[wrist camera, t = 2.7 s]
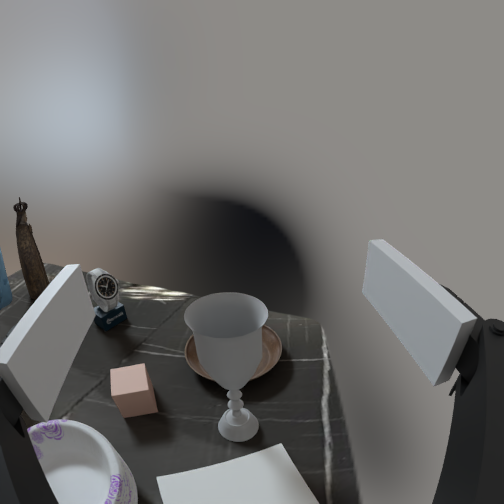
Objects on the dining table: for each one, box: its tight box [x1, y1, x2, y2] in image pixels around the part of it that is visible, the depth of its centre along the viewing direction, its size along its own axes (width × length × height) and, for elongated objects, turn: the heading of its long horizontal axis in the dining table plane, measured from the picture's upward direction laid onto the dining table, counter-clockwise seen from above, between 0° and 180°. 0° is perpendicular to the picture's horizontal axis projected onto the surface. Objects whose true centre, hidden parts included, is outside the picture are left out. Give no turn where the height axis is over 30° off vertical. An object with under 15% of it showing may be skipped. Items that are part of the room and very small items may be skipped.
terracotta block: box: [111, 364, 158, 418], centre depth 35 cm, size 5×5×5 cm
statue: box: [14, 197, 49, 299], centre depth 58 cm, size 9×8×25 cm
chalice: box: [184, 293, 268, 442], centre depth 29 cm, size 7×7×18 cm
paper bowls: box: [27, 419, 138, 504], centre depth 18 cm, size 15×15×8 cm
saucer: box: [185, 325, 282, 382], centre depth 44 cm, size 15×15×3 cm
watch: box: [86, 268, 127, 331], centre depth 51 cm, size 6×8×11 cm
